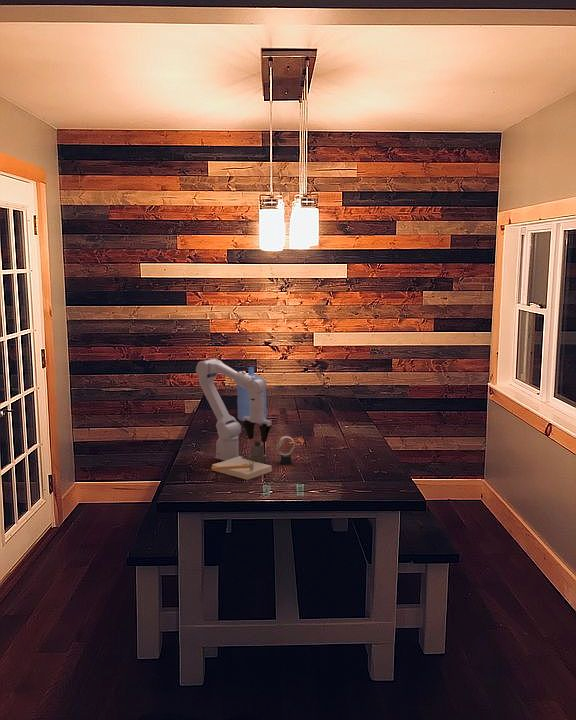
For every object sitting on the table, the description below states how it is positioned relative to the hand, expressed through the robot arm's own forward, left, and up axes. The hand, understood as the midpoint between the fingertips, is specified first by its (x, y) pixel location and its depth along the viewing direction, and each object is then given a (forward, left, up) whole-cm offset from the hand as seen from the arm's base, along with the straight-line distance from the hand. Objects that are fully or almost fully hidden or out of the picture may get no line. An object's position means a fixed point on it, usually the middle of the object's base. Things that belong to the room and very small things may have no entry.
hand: (257, 440), depth 287 cm
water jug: (-59, +58, -10) cm, 83 cm away
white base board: (+2, -12, -10) cm, 15 cm away
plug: (0, 0, -10) cm, 10 cm away
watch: (+8, +8, -10) cm, 15 cm away
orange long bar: (+5, -20, -7) cm, 22 cm away
